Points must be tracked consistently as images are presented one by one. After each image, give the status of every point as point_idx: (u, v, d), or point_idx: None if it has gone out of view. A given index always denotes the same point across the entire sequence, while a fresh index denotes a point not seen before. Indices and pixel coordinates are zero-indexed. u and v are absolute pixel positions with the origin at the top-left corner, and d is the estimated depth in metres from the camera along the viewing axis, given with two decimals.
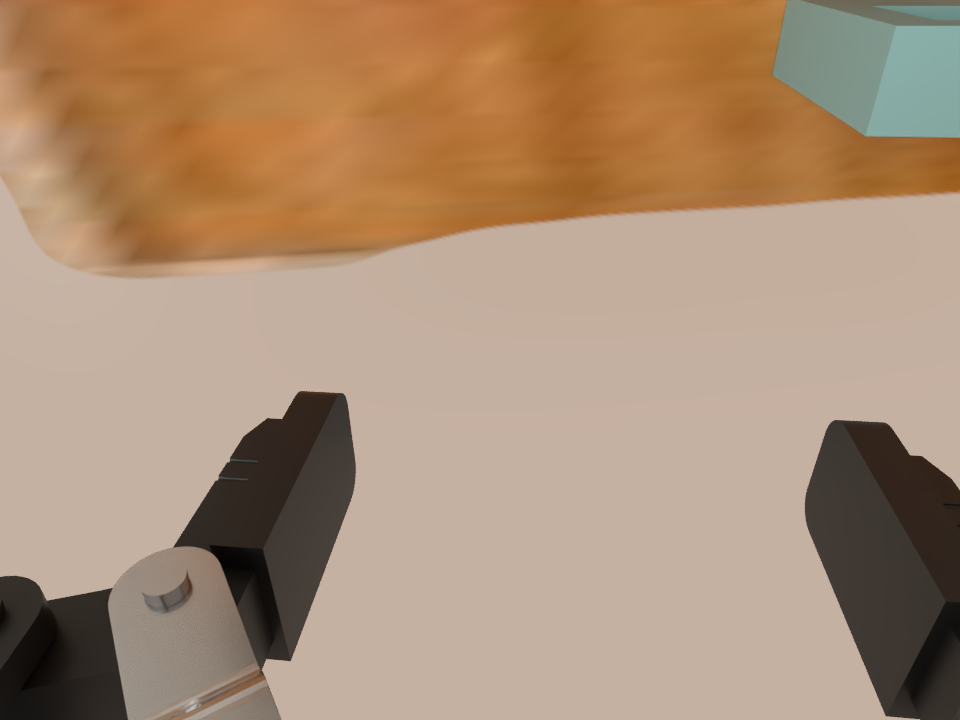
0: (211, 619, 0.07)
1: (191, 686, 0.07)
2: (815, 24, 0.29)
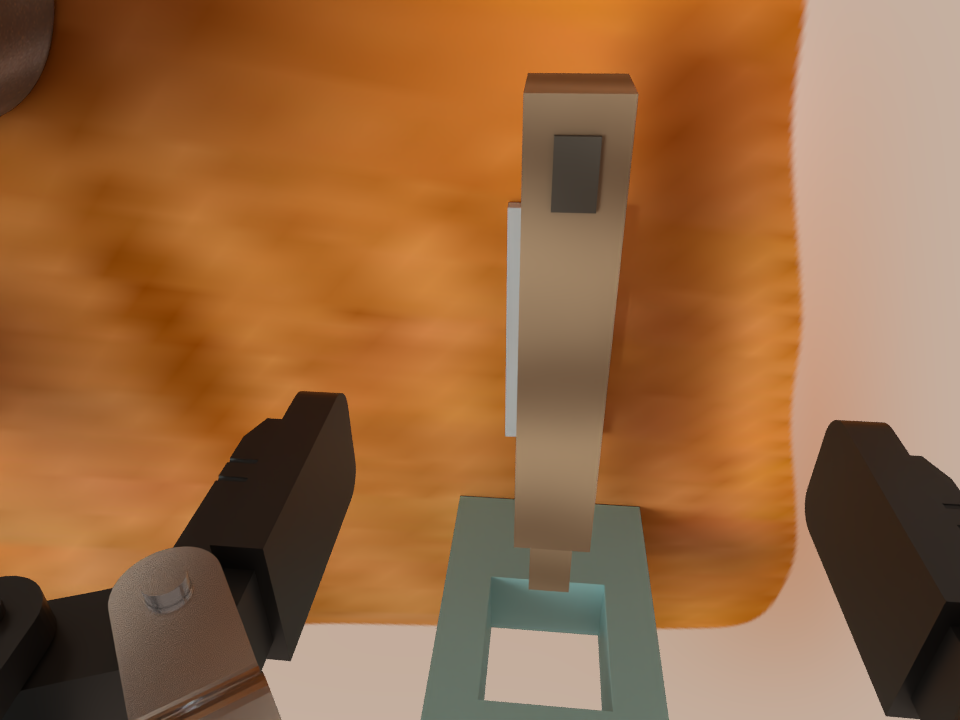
0: (211, 619, 0.07)
1: (191, 686, 0.07)
2: None
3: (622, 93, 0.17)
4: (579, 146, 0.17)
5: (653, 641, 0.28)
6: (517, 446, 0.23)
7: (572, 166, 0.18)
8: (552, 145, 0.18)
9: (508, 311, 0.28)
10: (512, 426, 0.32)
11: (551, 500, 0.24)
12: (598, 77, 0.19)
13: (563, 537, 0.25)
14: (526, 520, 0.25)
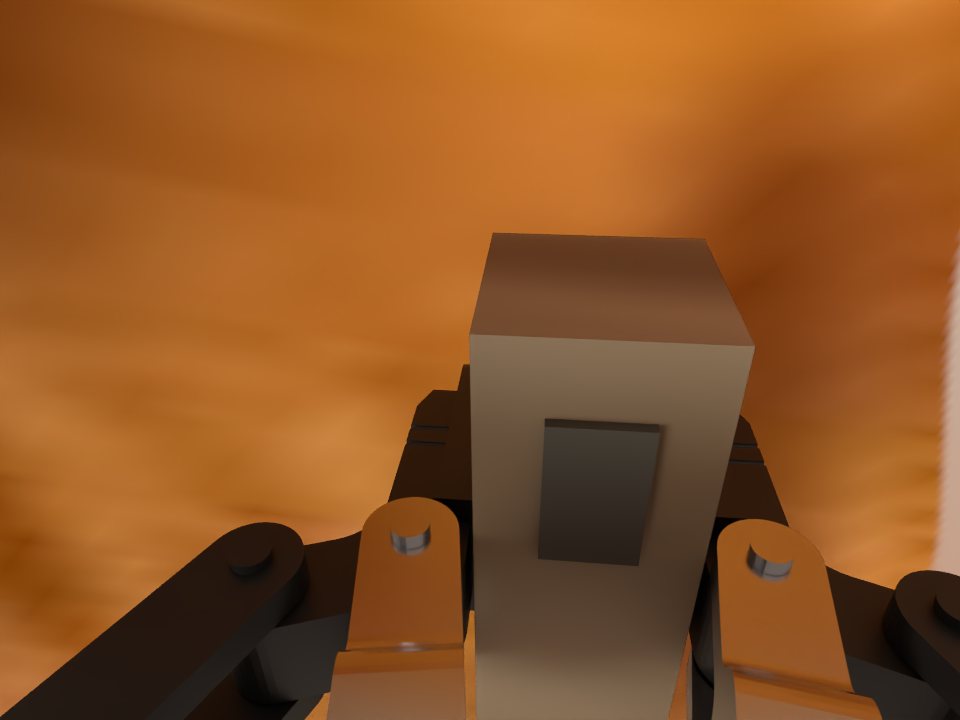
0: (437, 575, 0.08)
1: (404, 629, 0.07)
2: None
3: (713, 340, 0.07)
4: (604, 447, 0.07)
5: None
6: None
7: (587, 483, 0.08)
8: (540, 439, 0.07)
9: None
10: None
11: None
12: (642, 253, 0.09)
13: None
14: None
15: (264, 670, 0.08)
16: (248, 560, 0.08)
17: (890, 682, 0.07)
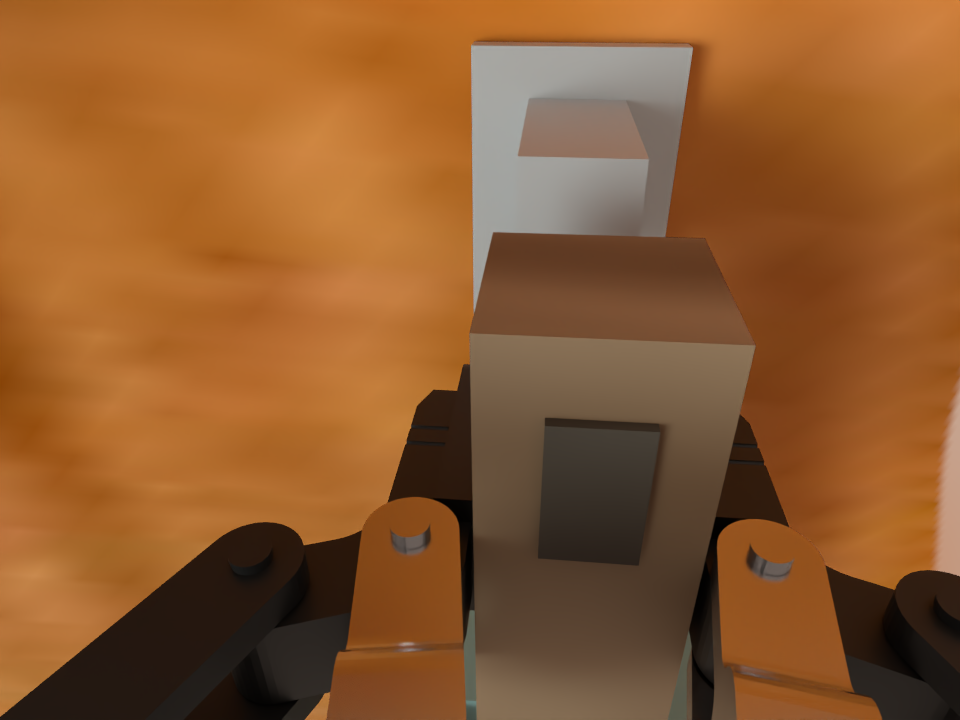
0: (437, 576, 0.08)
1: (404, 629, 0.07)
2: None
3: (714, 340, 0.07)
4: (604, 446, 0.07)
5: None
6: None
7: (587, 483, 0.08)
8: (541, 438, 0.07)
9: (476, 250, 0.16)
10: None
11: None
12: (642, 253, 0.09)
13: None
14: None
15: (264, 670, 0.08)
16: (248, 560, 0.08)
17: (890, 682, 0.07)
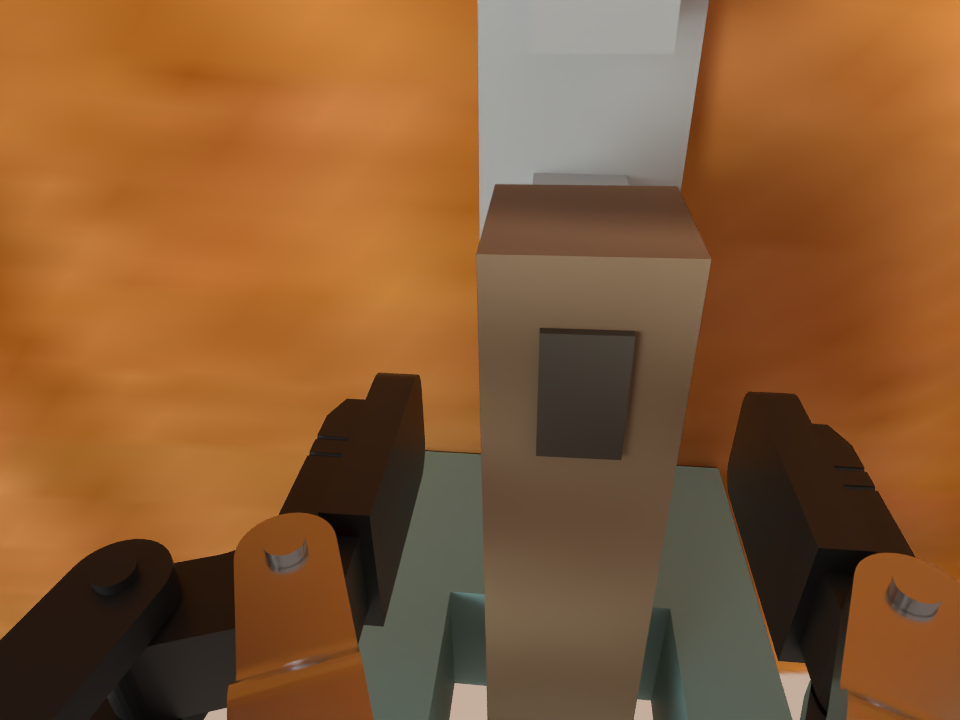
0: (321, 587, 0.08)
1: (294, 647, 0.07)
2: None
3: (677, 256, 0.08)
4: (589, 351, 0.09)
5: None
6: None
7: (576, 384, 0.09)
8: (536, 346, 0.09)
9: (482, 46, 0.14)
10: None
11: None
12: (623, 197, 0.10)
13: None
14: None
15: (145, 688, 0.08)
16: (111, 578, 0.08)
17: None
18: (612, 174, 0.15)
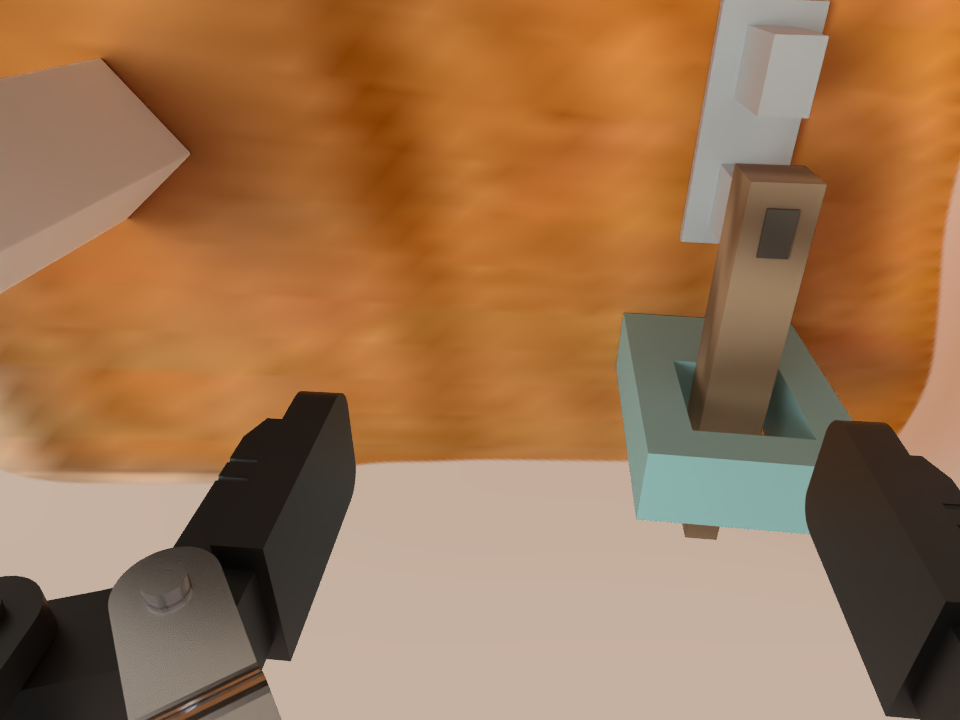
0: (211, 619, 0.07)
1: (191, 686, 0.07)
2: (629, 367, 0.34)
3: (815, 183, 0.26)
4: (783, 216, 0.27)
5: (836, 401, 0.31)
6: (701, 422, 0.32)
7: (776, 228, 0.27)
8: (764, 214, 0.27)
9: (706, 107, 0.32)
10: (690, 231, 0.35)
11: None
12: (786, 168, 0.28)
13: None
14: None
15: None
16: None
17: None
18: None
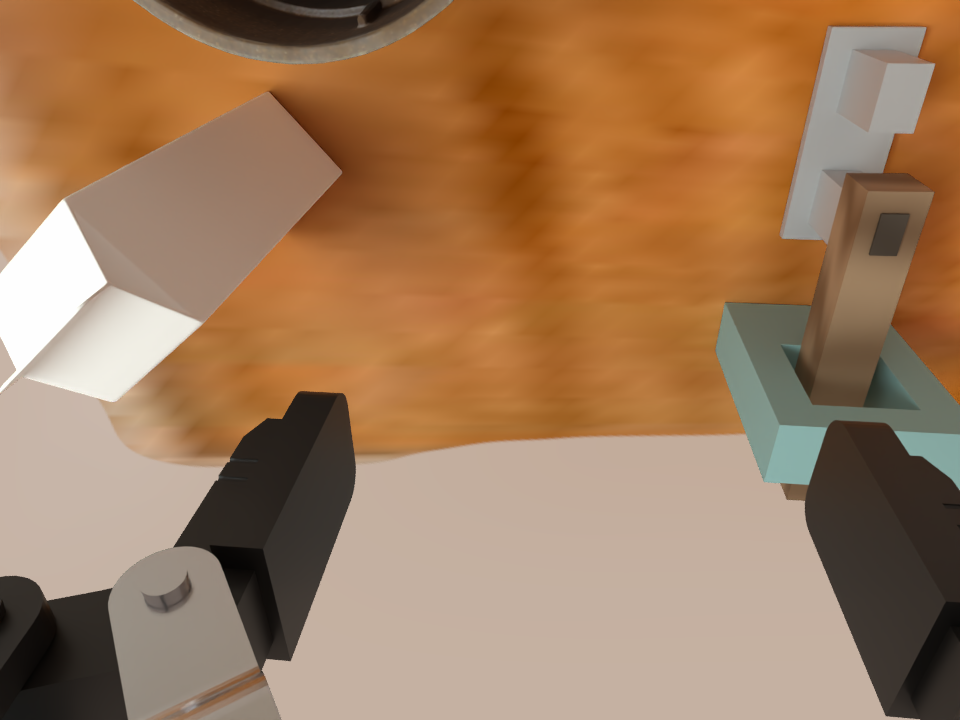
0: (211, 619, 0.07)
1: (191, 686, 0.07)
2: (739, 351, 0.39)
3: (924, 191, 0.30)
4: (895, 219, 0.31)
5: (931, 376, 0.35)
6: (810, 397, 0.36)
7: (888, 230, 0.31)
8: (878, 218, 0.31)
9: (811, 121, 0.36)
10: (790, 229, 0.39)
11: None
12: (893, 177, 0.32)
13: None
14: None
15: None
16: None
17: None
18: (854, 170, 0.37)
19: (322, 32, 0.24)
